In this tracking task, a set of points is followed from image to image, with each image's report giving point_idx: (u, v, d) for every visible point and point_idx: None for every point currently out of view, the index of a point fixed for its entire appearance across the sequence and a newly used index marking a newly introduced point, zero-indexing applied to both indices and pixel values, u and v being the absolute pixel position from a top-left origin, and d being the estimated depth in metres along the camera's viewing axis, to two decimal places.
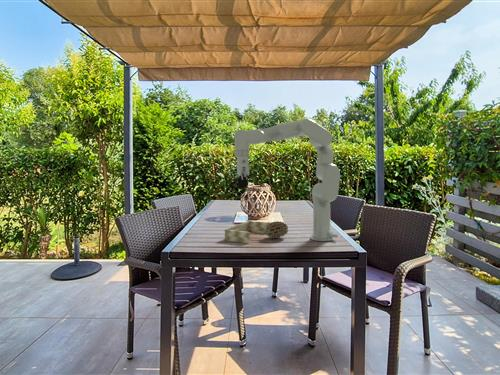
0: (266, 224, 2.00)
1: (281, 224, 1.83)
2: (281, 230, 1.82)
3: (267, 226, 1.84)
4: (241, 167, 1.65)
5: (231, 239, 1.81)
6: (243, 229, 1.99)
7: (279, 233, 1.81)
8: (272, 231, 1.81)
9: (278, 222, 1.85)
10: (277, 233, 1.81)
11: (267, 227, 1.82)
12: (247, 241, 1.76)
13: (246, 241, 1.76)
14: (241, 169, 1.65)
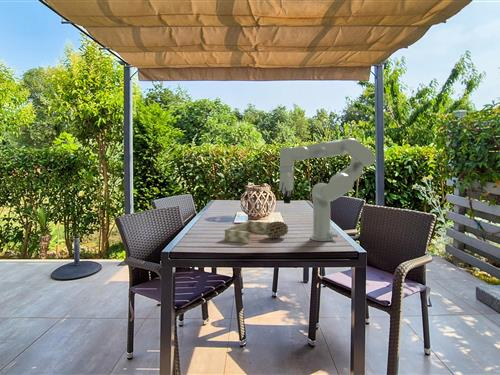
0: (266, 224, 2.00)
1: (281, 224, 1.83)
2: (281, 230, 1.82)
3: (267, 226, 1.84)
4: None
5: (231, 239, 1.81)
6: (243, 229, 1.99)
7: (279, 233, 1.81)
8: (272, 231, 1.81)
9: (278, 222, 1.85)
10: (277, 233, 1.81)
11: (267, 227, 1.82)
12: (247, 241, 1.76)
13: (246, 241, 1.76)
14: None
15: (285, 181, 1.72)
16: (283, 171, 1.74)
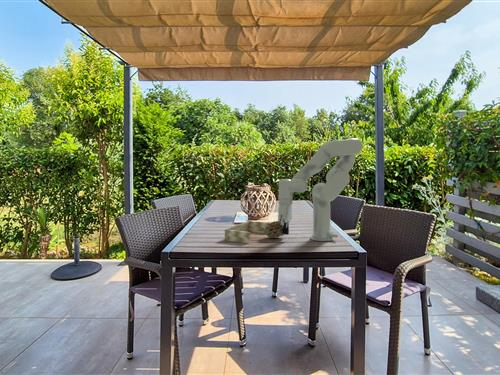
0: (266, 224, 2.00)
1: (280, 224, 1.83)
2: None
3: (266, 226, 1.84)
4: None
5: (231, 239, 1.81)
6: (243, 229, 1.99)
7: (278, 233, 1.82)
8: (271, 231, 1.81)
9: (277, 222, 1.85)
10: (276, 233, 1.82)
11: (266, 227, 1.83)
12: (247, 241, 1.76)
13: (246, 241, 1.76)
14: None
15: (284, 213, 1.74)
16: (282, 203, 1.76)
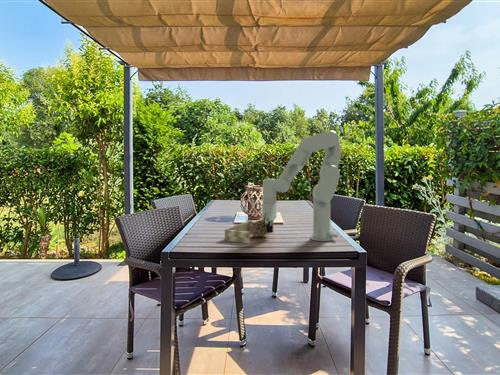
0: None
1: None
2: (266, 228, 1.87)
3: (252, 225, 1.87)
4: None
5: (231, 239, 1.81)
6: (243, 229, 1.99)
7: (265, 231, 1.86)
8: (258, 230, 1.85)
9: (262, 220, 1.89)
10: (263, 231, 1.86)
11: (253, 226, 1.85)
12: (247, 241, 1.76)
13: (246, 241, 1.76)
14: None
15: (267, 212, 1.79)
16: (266, 202, 1.80)
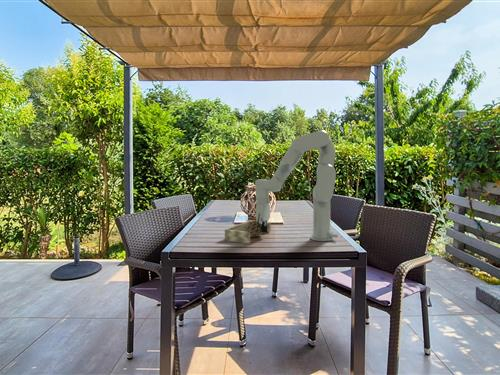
0: None
1: None
2: None
3: (247, 225, 1.88)
4: None
5: (231, 239, 1.81)
6: (243, 229, 1.99)
7: (260, 231, 1.88)
8: (253, 229, 1.86)
9: None
10: (258, 231, 1.87)
11: (248, 226, 1.86)
12: (247, 241, 1.76)
13: (246, 241, 1.76)
14: None
15: (261, 212, 1.81)
16: (259, 203, 1.82)
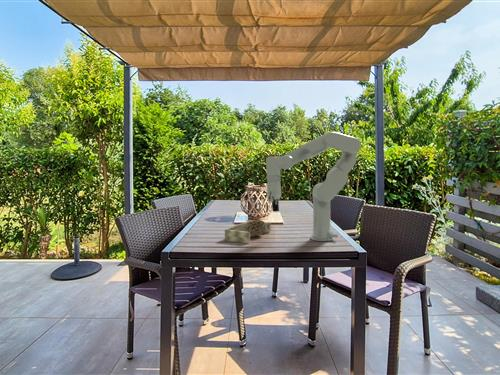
0: (266, 224, 2.00)
1: (260, 222, 1.90)
2: None
3: (247, 225, 1.88)
4: None
5: (231, 239, 1.81)
6: (243, 229, 1.99)
7: (260, 231, 1.88)
8: (253, 229, 1.86)
9: (257, 220, 1.91)
10: (258, 231, 1.87)
11: (248, 226, 1.86)
12: (247, 241, 1.76)
13: (246, 241, 1.76)
14: None
15: (272, 190, 1.76)
16: (270, 180, 1.78)
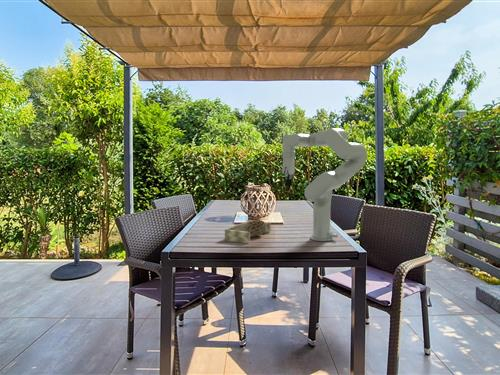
0: (266, 224, 2.00)
1: (260, 222, 1.90)
2: None
3: (247, 225, 1.88)
4: None
5: (231, 239, 1.81)
6: (243, 229, 1.99)
7: (260, 231, 1.88)
8: (253, 229, 1.86)
9: (257, 220, 1.91)
10: (258, 231, 1.87)
11: (248, 226, 1.86)
12: (247, 241, 1.76)
13: (246, 241, 1.76)
14: None
15: (287, 165, 1.91)
16: (286, 156, 1.92)
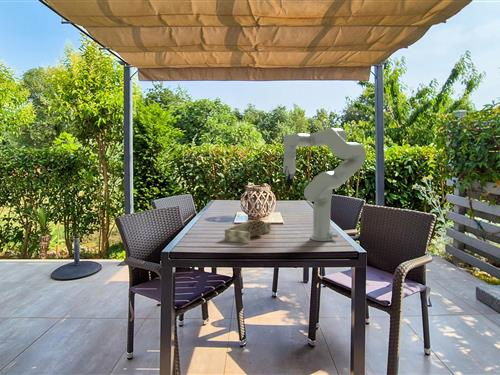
0: (266, 224, 2.00)
1: (260, 222, 1.90)
2: None
3: (247, 225, 1.88)
4: None
5: (231, 239, 1.81)
6: (243, 229, 1.99)
7: (260, 231, 1.88)
8: (253, 229, 1.86)
9: (257, 220, 1.91)
10: (258, 231, 1.87)
11: (248, 226, 1.86)
12: (247, 241, 1.76)
13: (246, 241, 1.76)
14: None
15: (288, 165, 1.92)
16: (286, 156, 1.93)
